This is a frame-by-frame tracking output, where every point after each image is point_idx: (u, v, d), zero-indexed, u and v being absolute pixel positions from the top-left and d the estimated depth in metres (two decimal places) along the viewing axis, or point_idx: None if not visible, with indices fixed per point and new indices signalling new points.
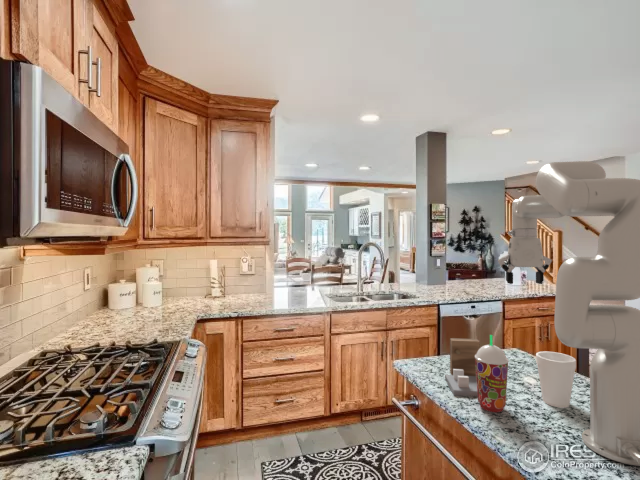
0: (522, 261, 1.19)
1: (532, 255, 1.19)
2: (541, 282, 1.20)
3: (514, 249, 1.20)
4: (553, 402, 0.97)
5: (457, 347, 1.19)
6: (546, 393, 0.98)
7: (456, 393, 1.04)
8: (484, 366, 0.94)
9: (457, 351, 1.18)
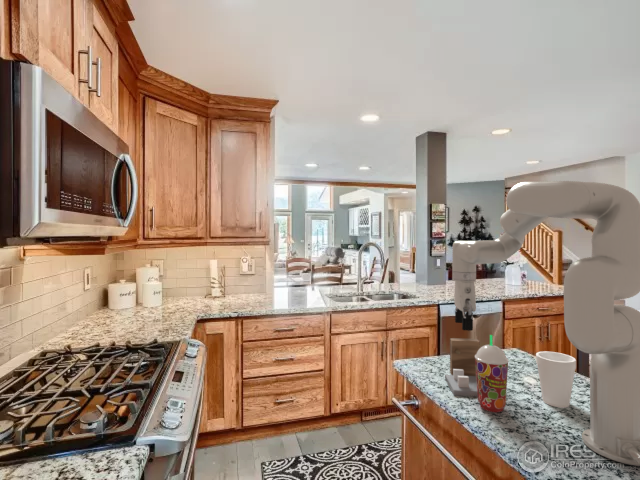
0: None
1: None
2: None
3: None
4: (553, 402, 0.97)
5: (457, 347, 1.19)
6: (546, 393, 0.98)
7: (456, 393, 1.04)
8: (484, 366, 0.94)
9: (457, 351, 1.18)
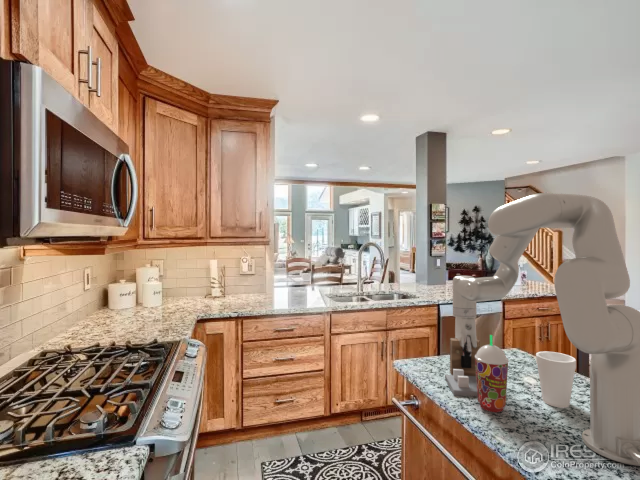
0: None
1: None
2: None
3: (475, 330, 1.16)
4: (553, 402, 0.97)
5: (457, 347, 1.19)
6: (546, 393, 0.98)
7: (456, 393, 1.04)
8: (484, 366, 0.94)
9: (457, 351, 1.18)
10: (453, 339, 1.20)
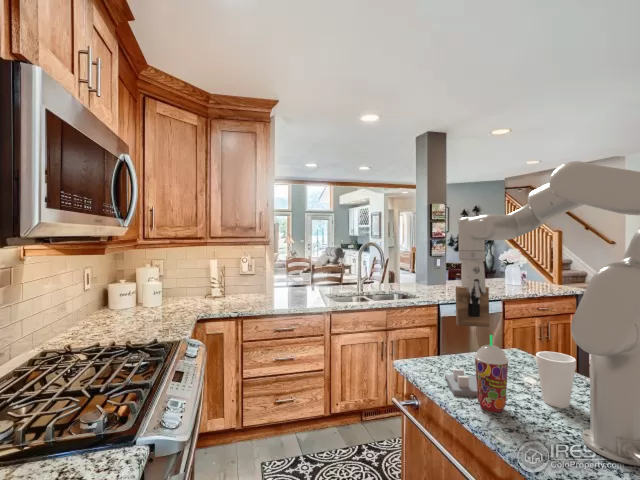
0: None
1: None
2: None
3: (484, 274, 1.05)
4: (553, 402, 0.97)
5: (464, 294, 1.08)
6: (546, 393, 0.98)
7: (456, 393, 1.04)
8: (484, 366, 0.94)
9: (464, 298, 1.07)
10: (459, 286, 1.10)
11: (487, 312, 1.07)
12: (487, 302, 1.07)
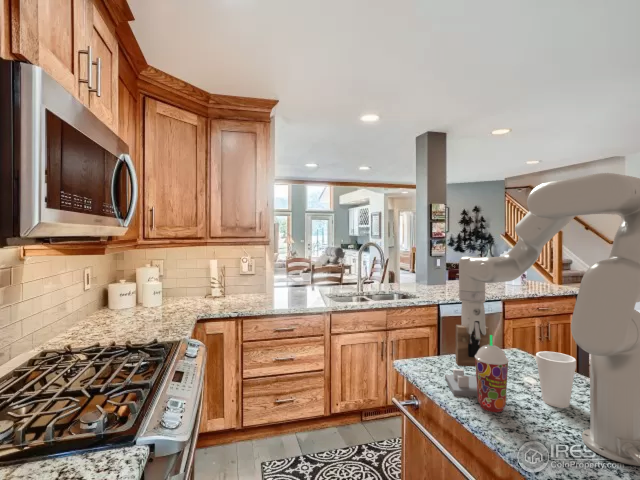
0: None
1: None
2: None
3: (484, 315, 1.05)
4: (553, 402, 0.97)
5: (464, 334, 1.08)
6: (546, 393, 0.98)
7: (456, 393, 1.04)
8: (484, 366, 0.94)
9: (464, 339, 1.07)
10: (459, 326, 1.10)
11: None
12: (487, 343, 1.07)
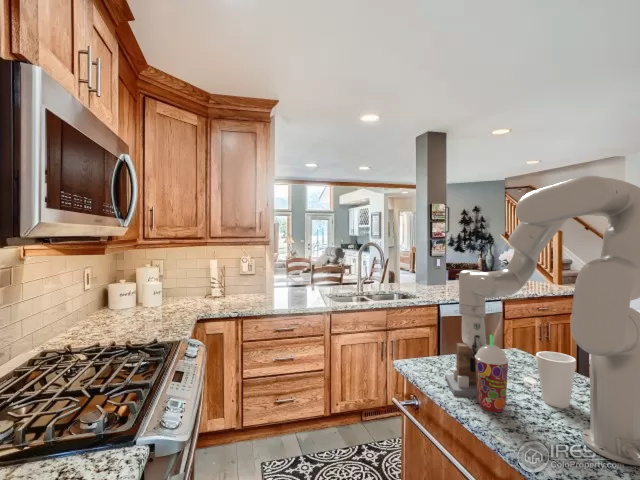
0: None
1: None
2: None
3: None
4: (553, 402, 0.97)
5: (464, 353, 1.08)
6: (546, 393, 0.98)
7: (456, 393, 1.04)
8: (484, 366, 0.94)
9: (464, 358, 1.07)
10: (460, 344, 1.09)
11: None
12: None
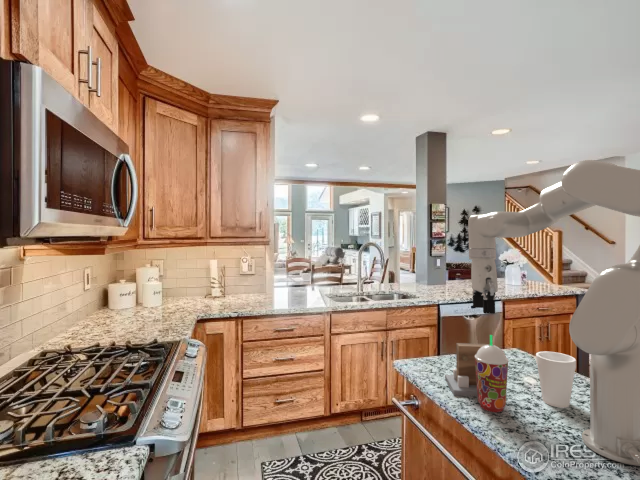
0: None
1: None
2: None
3: (496, 272, 1.03)
4: (553, 402, 0.97)
5: (464, 353, 1.08)
6: (546, 393, 0.98)
7: (456, 393, 1.04)
8: (484, 366, 0.94)
9: (464, 357, 1.07)
10: (460, 344, 1.09)
11: None
12: None
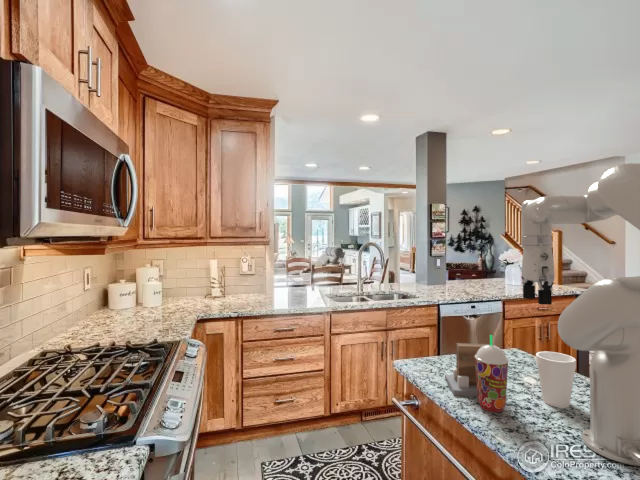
0: None
1: None
2: None
3: (553, 261, 0.97)
4: (553, 402, 0.97)
5: (464, 353, 1.08)
6: (546, 393, 0.98)
7: (456, 393, 1.04)
8: (484, 366, 0.94)
9: (464, 357, 1.07)
10: (460, 344, 1.09)
11: None
12: None
